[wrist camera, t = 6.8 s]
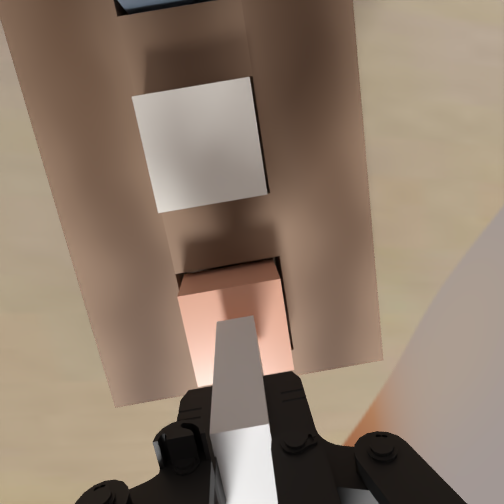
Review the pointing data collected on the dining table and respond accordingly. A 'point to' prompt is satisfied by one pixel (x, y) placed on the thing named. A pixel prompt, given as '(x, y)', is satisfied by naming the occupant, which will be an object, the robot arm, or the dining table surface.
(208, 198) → the white key
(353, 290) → the key panel
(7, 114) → the dining table surface
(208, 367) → the terracotta key
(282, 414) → the robot arm
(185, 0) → the slate blue key
